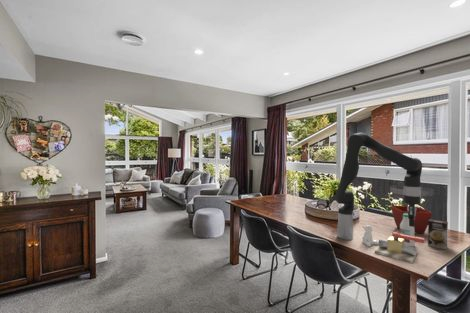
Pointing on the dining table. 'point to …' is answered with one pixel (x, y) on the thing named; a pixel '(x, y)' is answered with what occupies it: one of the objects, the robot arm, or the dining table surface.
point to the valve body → (396, 246)
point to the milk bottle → (407, 231)
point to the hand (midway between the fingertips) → (411, 226)
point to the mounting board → (396, 255)
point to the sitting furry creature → (368, 237)
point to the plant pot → (420, 218)
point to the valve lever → (408, 237)
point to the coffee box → (437, 233)
